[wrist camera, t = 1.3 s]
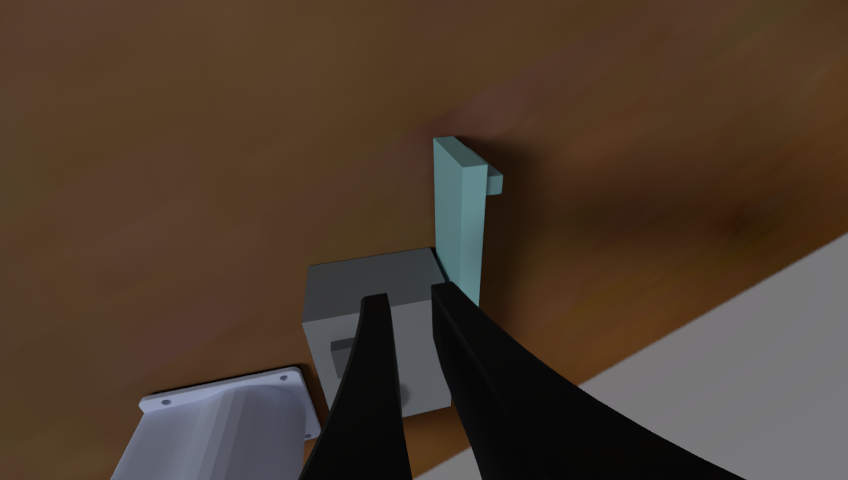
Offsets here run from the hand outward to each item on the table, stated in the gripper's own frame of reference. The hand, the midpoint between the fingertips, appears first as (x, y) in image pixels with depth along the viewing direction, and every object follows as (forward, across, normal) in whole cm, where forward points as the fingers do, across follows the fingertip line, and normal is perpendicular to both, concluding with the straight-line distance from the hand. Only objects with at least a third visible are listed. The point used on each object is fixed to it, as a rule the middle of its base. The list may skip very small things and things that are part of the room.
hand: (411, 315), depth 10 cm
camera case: (+9, +1, +8) cm, 13 cm away
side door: (+9, -4, +5) cm, 11 cm away
